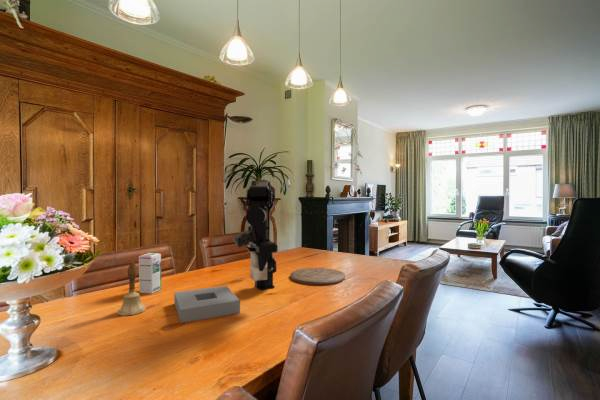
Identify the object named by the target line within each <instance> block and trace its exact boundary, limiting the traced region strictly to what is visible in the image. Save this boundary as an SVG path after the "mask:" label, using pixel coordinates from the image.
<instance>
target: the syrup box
mask: <svg viewBox="0 0 600 400" xmlns="http://www.w3.org/2000/svg"><path fill="white" fill-rule="evenodd" d="M138 275H139V276H138V279H139V281H138V283H139V285H138V286H139V288H138V290H139V294H140V293H141V294H154V293H156V292H158V291H160V290H162V289H163V288H162V254H161V253H159V252H148V253H145V254H141V255H139V256H138Z"/></svg>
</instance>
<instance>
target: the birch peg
mask: <svg viewBox="0 0 600 400" xmlns="http://www.w3.org/2000/svg"><path fill="white" fill-rule="evenodd" d="M249 252H250V258H249V259H250V262H249V263H250V271H249V272H250V275H249V276H250V279H251V280H252V281H254V282H255V281H258V280H266V279H267V263H266V265H265V267H264V270H263V271H259V264H258V257H257V255H256V254H255V253H254V252H253V251H249Z"/></svg>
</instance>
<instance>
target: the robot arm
mask: <svg viewBox="0 0 600 400" xmlns="http://www.w3.org/2000/svg"><path fill="white" fill-rule="evenodd" d="M246 191H247V192H246V199H245V207H250V209H249V210H247V211H246V216H245V219H246V222H247V223H248V227H247V230H245V231H243V232H240V233H238V234H236V235H233V236H232V240H233V242H234V245H235V246H236V247H237V248H242V247H244V246H245V248H246V250H247V251H248V252H250V251H253V252H254V253H255V254H256V255H257V257H258V264H259V271H263V270H264V267H265V265H266V263H267V279H266V280H258V281H254V286H255V287H256V288H257V289H258V290H266V289H267V290H268V289H271V288H272V289H273V288H275V285H274V274H275V273H277V261H276V259H275V257H274V253H277V252H278V246H279V245H278V244H277V243H275V242H273V241H270V239H271V238H270V237H271V235H270V234H271V230H270V229H271V228H270V227H271V225H270V224H271V211H272V210H273V208H274V206H275V202H276V188H274V187H273V185H272V184H271V181H270V180H258V181H257V183H256V185H249V188H247V190H246Z"/></svg>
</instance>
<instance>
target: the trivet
mask: <svg viewBox="0 0 600 400" xmlns="http://www.w3.org/2000/svg"><path fill="white" fill-rule="evenodd" d="M289 277H290V280H291V279H292V282H294V283H297V284H301V283H302V285H306V284H308V285H307V286H318V285H319V286H332V285H331V284H333V285H337V284H336V283H338V284H341V283H342V281H343V280H344V281H346V274H345V273H344V272H342V271H340V270H337V269H333V268H328V267H304V268H303V267H302V268H298V269H294V270H293V271H291V273H290V275H289ZM344 281H343V282H344ZM340 282H341V283H340Z"/></svg>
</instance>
